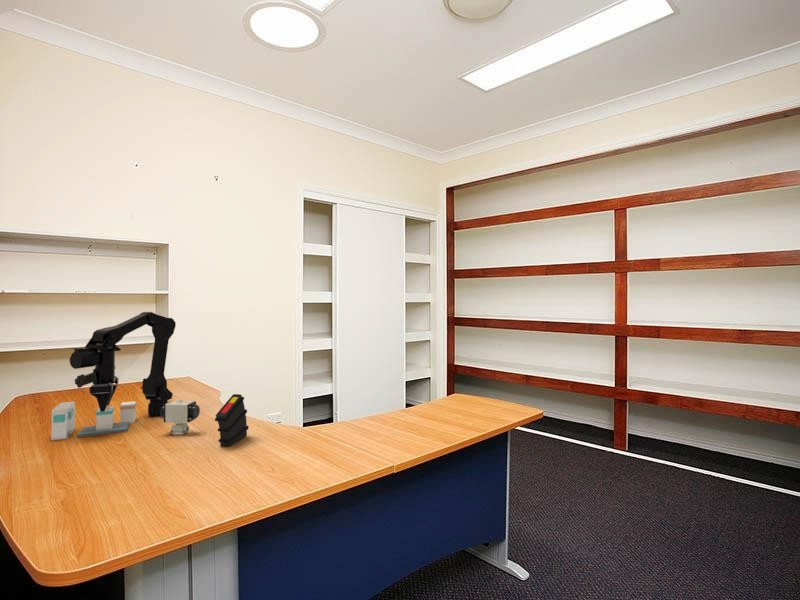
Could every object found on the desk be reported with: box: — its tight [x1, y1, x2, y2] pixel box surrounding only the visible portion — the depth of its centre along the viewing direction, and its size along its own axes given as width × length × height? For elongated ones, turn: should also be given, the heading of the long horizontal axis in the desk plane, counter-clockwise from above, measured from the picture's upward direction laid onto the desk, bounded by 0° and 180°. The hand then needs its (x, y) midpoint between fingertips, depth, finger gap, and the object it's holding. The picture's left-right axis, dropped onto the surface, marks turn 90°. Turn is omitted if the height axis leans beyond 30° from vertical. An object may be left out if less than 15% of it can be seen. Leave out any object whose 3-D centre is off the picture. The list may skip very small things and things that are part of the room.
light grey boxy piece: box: [119, 401, 137, 424], centre depth 162 cm, size 5×5×7 cm
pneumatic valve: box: [159, 398, 201, 436], centre depth 147 cm, size 6×12×12 cm, turn 89°
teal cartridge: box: [95, 405, 115, 430], centre depth 150 cm, size 5×5×7 cm
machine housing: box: [51, 401, 76, 441], centre depth 146 cm, size 4×12×10 cm, turn 27°
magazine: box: [214, 393, 249, 448], centre depth 139 cm, size 4×13×15 cm, turn 169°
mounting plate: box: [77, 422, 131, 438], centre depth 150 cm, size 14×10×1 cm
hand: (104, 408), depth 150 cm, fingers open, 9 cm apart
